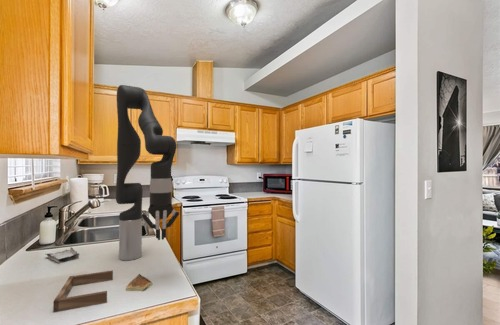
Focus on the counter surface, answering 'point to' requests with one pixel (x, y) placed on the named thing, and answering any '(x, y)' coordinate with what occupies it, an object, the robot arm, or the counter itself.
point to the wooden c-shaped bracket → (81, 300)
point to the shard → (138, 284)
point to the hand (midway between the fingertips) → (160, 239)
